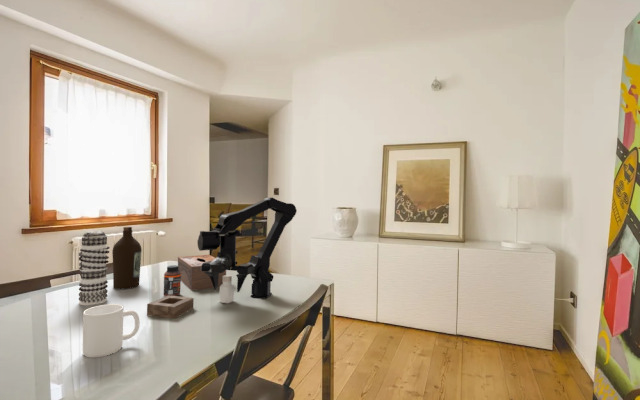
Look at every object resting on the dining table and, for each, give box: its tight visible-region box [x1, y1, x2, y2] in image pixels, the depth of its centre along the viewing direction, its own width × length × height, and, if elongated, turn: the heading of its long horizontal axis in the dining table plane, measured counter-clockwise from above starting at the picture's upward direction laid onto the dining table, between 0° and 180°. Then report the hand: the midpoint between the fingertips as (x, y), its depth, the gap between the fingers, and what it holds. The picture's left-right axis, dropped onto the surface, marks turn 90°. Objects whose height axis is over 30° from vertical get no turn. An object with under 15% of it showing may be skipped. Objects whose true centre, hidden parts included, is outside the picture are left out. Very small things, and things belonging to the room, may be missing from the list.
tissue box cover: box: [177, 254, 227, 291], centre depth 150 cm, size 26×14×10 cm, turn 35°
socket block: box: [146, 295, 195, 319], centre depth 110 cm, size 10×10×4 cm
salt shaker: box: [218, 274, 235, 304], centre depth 122 cm, size 4×4×10 cm
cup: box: [82, 303, 140, 359], centre depth 83 cm, size 8×12×10 cm
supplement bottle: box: [163, 264, 182, 297], centre depth 128 cm, size 6×6×11 cm
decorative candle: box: [78, 230, 110, 306], centre depth 119 cm, size 9×9×25 cm
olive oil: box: [112, 226, 143, 290], centre depth 139 cm, size 11×11×25 cm
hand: (227, 290), depth 122 cm, fingers open, 9 cm apart
